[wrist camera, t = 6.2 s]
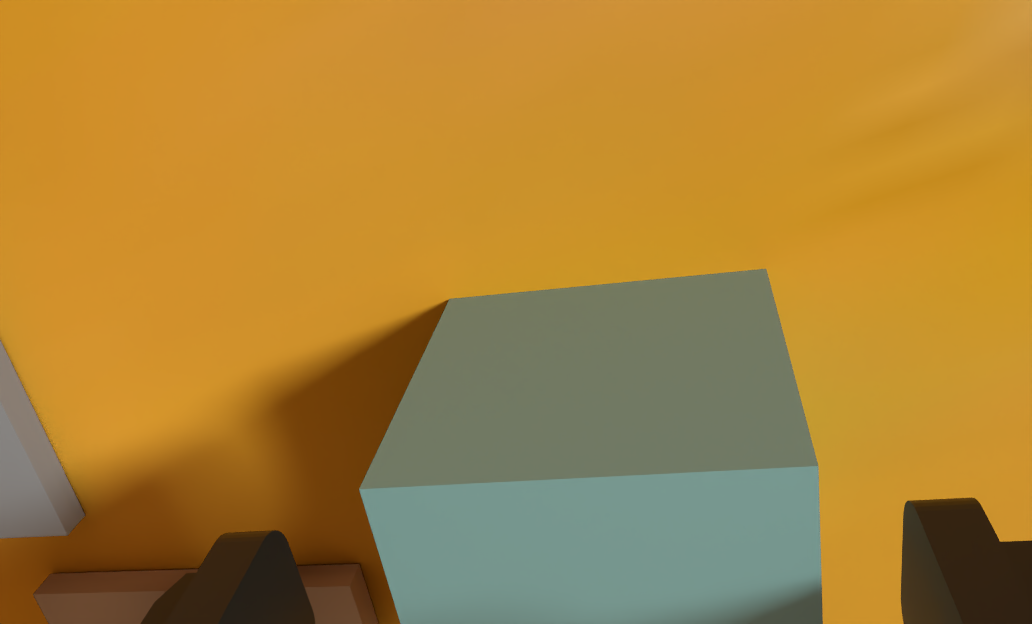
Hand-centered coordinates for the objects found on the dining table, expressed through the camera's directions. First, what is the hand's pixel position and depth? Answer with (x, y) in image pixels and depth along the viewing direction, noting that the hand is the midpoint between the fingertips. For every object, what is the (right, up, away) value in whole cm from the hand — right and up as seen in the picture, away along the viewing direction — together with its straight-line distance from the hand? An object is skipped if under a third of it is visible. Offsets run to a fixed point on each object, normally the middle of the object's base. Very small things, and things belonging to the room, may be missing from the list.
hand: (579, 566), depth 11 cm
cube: (+1, +2, +4) cm, 4 cm away
